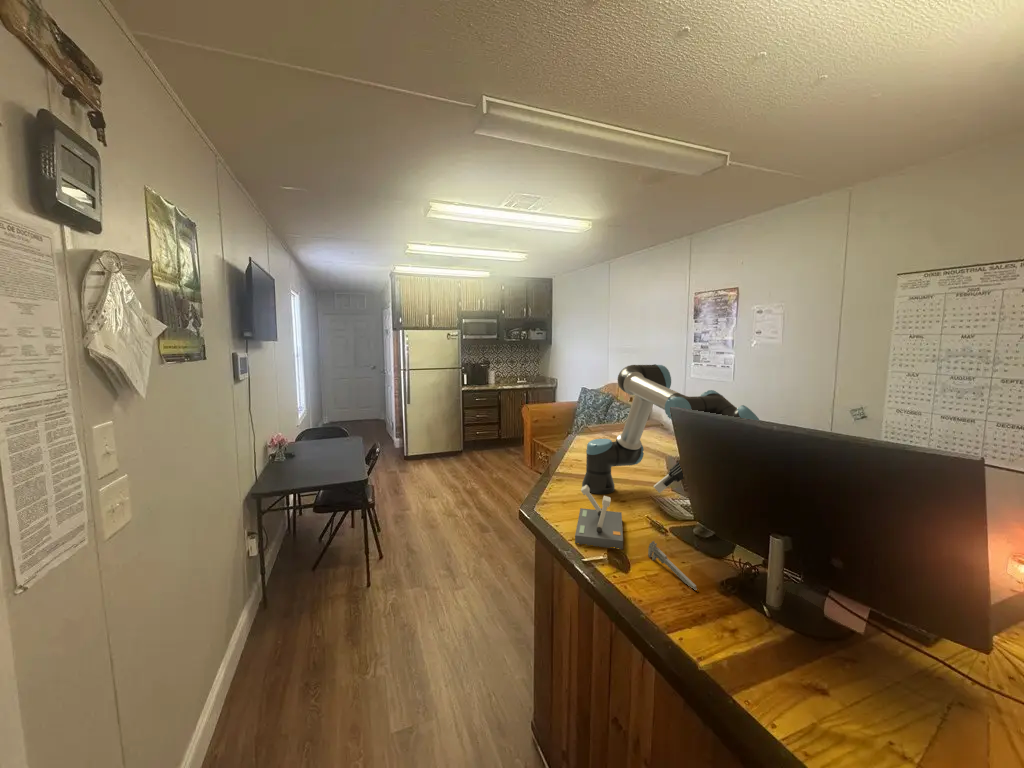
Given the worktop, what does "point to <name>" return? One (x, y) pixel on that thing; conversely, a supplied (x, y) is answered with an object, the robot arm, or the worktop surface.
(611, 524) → the panel
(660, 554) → the caliper
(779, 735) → the worktop surface
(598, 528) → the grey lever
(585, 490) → the lever
